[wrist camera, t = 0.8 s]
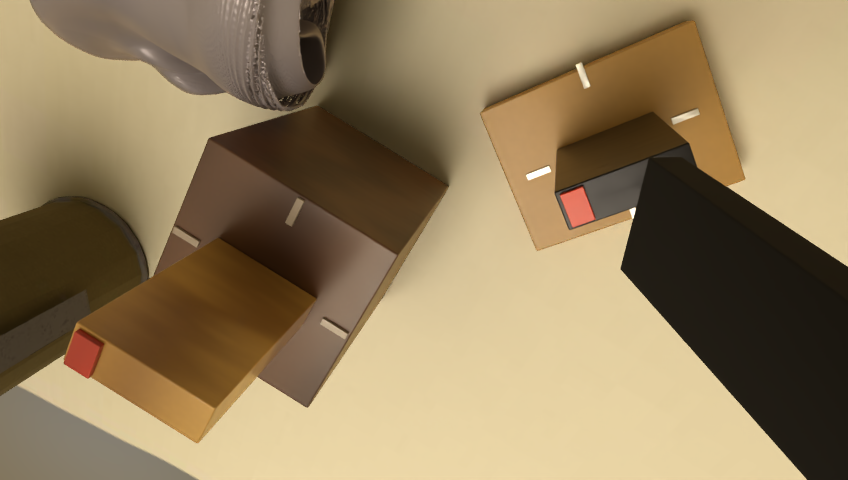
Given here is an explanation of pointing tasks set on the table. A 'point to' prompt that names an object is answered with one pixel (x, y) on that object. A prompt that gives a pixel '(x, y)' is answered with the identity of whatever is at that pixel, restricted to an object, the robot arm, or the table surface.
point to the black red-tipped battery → (612, 168)
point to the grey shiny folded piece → (206, 42)
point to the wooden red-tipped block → (190, 336)
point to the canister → (58, 278)
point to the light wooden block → (609, 121)
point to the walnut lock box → (309, 226)
